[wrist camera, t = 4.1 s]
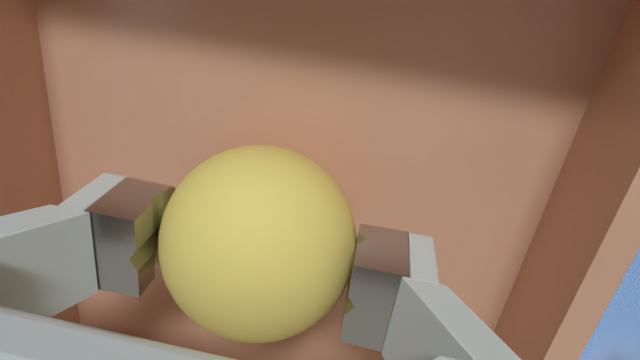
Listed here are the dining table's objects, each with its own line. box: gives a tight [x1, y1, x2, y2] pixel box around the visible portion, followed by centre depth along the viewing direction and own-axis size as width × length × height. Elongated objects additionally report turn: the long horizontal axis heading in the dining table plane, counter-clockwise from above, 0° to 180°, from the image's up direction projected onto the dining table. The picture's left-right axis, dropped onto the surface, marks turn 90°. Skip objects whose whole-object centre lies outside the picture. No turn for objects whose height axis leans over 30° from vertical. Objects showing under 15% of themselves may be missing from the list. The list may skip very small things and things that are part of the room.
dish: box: [0, 0, 640, 360], centre depth 10 cm, size 13×13×3 cm
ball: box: [158, 145, 357, 344], centre depth 9 cm, size 4×4×4 cm
